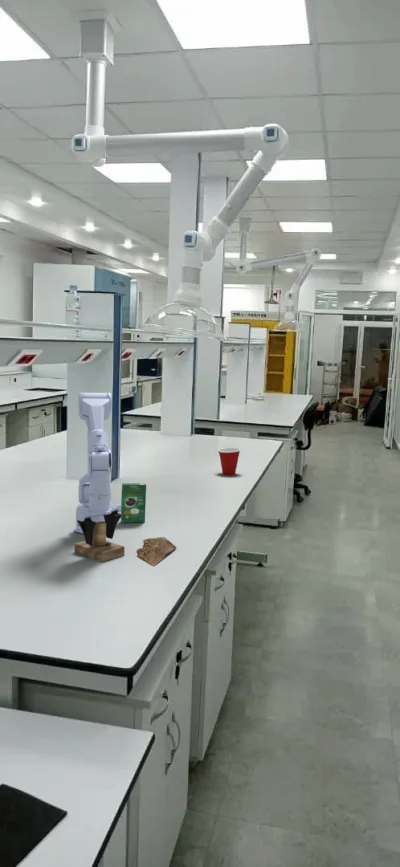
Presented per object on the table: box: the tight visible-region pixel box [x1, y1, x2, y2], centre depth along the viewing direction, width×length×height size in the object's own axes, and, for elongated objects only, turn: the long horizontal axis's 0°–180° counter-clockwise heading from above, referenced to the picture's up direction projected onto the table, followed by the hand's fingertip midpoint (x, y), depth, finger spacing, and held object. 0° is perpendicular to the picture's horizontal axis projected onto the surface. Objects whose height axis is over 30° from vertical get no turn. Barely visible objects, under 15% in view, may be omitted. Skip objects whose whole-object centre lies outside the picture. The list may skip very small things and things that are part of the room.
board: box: [74, 540, 125, 563], centre depth 184 cm, size 12×8×2 cm, turn 50°
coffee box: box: [120, 482, 147, 524], centre depth 217 cm, size 8×3×13 cm, turn 104°
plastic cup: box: [217, 447, 242, 476], centre depth 301 cm, size 11×11×12 cm
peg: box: [93, 521, 107, 549], centre depth 183 cm, size 4×4×9 cm
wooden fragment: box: [136, 536, 177, 567], centre depth 188 cm, size 26×11×1 cm, turn 175°
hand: (99, 540), depth 184 cm, fingers open, 7 cm apart
